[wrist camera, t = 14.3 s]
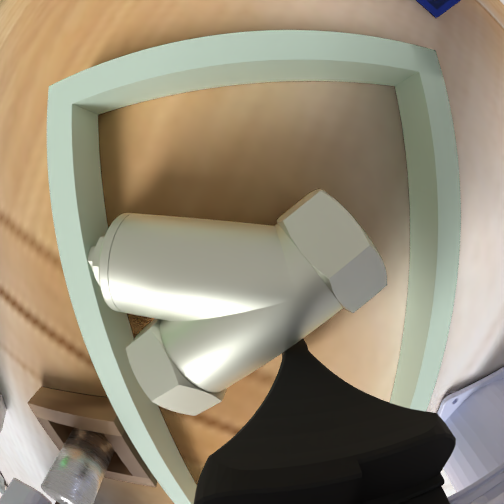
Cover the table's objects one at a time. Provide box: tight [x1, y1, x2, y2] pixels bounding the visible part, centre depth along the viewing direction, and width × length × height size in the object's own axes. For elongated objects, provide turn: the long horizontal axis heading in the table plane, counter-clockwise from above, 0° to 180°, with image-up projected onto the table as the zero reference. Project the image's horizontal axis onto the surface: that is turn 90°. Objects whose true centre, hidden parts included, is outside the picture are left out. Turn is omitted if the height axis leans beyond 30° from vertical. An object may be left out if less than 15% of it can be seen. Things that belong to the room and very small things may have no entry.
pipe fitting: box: [87, 189, 387, 416], centre depth 9 cm, size 8×4×7 cm
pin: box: [41, 427, 115, 504], centre depth 10 cm, size 3×3×6 cm
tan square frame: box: [28, 387, 157, 487], centre depth 12 cm, size 6×6×2 cm
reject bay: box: [47, 30, 461, 504], centre depth 10 cm, size 14×24×2 cm, turn 6°
